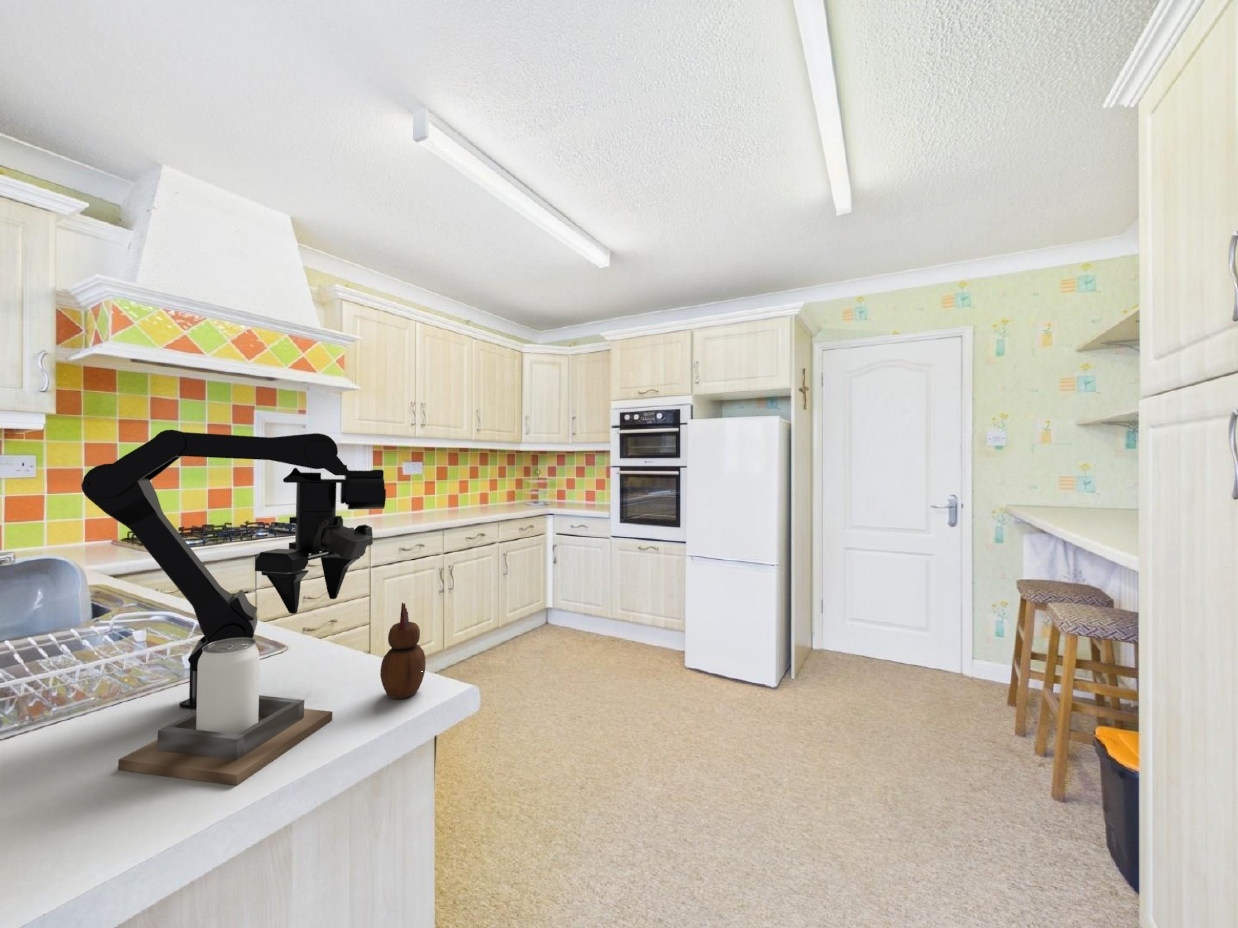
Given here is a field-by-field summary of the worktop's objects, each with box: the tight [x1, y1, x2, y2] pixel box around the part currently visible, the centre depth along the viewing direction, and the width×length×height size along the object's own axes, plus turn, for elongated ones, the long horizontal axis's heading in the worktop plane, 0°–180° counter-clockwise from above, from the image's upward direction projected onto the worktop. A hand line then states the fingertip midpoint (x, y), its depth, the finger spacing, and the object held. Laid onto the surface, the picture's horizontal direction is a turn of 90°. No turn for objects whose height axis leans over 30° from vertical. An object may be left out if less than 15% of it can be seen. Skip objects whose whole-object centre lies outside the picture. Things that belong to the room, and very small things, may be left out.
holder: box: [117, 694, 333, 786], centre depth 71 cm, size 16×16×4 cm
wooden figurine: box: [379, 602, 427, 700], centre depth 87 cm, size 7×6×15 cm
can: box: [196, 637, 260, 735], centre depth 70 cm, size 6×6×12 cm
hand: (314, 605), depth 89 cm, fingers open, 9 cm apart
